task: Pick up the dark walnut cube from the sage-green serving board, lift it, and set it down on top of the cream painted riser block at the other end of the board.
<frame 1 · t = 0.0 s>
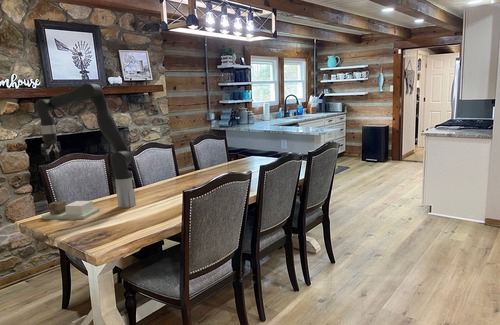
hand: (52, 159, 230), 29 cm above the table, fingers open, 8 cm apart
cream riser: (80, 211, 214), resting on serving board
serving board: (71, 215, 214), on the table
walnut cube: (58, 212, 214), point 1 cm above the table, touching serving board
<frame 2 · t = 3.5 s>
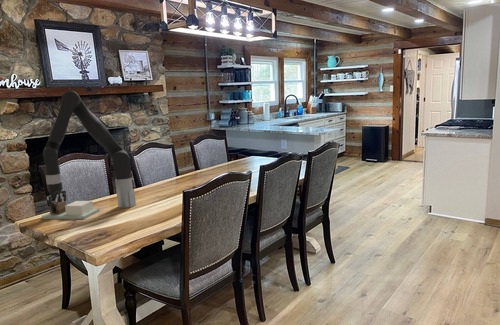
hand: (58, 211, 214), 2 cm above the table, fingers closed on walnut cube, 6 cm apart
walnut cube: (58, 212, 214), point 1 cm above the table, touching gripper, serving board
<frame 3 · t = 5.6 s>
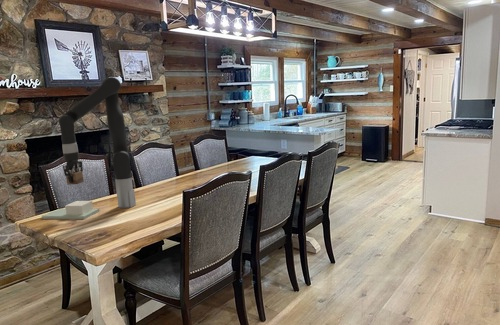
hand: (75, 181, 211), 19 cm above the table, fingers closed on walnut cube, 6 cm apart
walnut cube: (75, 183, 211), point 18 cm above the table, touching gripper
when the fingers open (9 cm above the table, at t = 8.2 s): walnut cube drops 2 cm, resting on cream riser.
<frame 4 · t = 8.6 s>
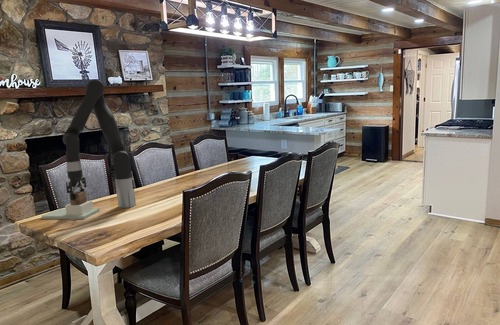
hand: (78, 197, 212), 10 cm above the table, fingers open, 8 cm apart
walnut cube: (78, 203, 213), point 6 cm above the table, touching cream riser
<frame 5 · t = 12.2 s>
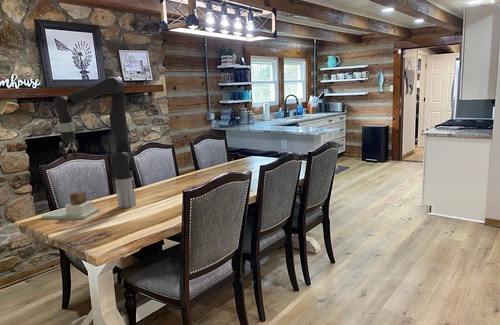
hand: (70, 158, 224), 30 cm above the table, fingers open, 8 cm apart
nothing on the table moved.
at the end: walnut cube inside the target area on the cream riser (0.0 cm from its centre), point 5.0 cm above the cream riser's base; walnut cube tilted 0°; the gripper is holding nothing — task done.
